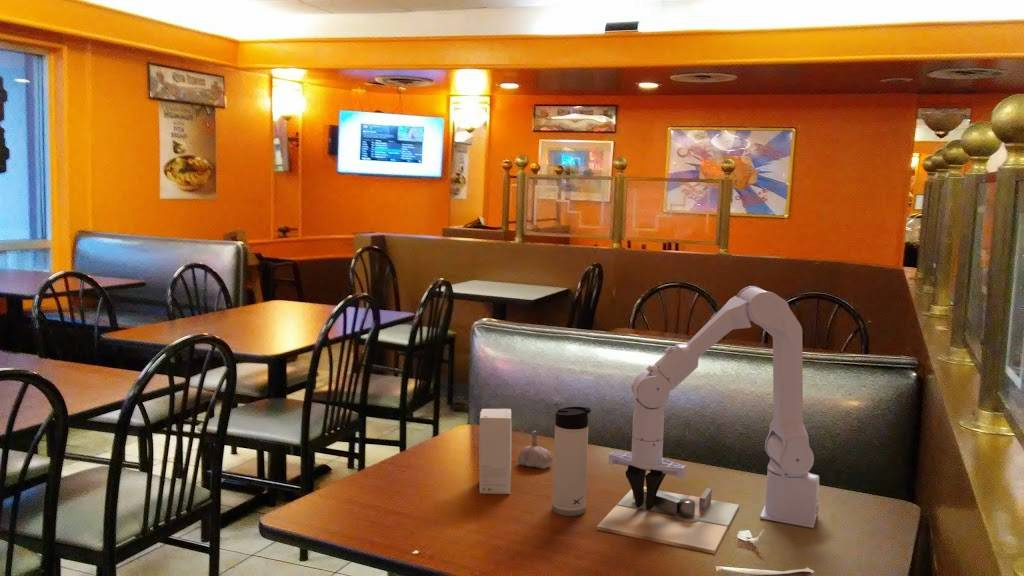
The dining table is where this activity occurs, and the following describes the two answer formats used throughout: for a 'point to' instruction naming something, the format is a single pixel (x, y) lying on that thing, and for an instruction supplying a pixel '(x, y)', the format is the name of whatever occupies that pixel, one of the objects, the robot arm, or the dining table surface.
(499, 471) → the skincare box
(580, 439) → the travel mug
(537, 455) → the garlic bulb
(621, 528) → the door board
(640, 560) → the dining table surface
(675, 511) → the bar
